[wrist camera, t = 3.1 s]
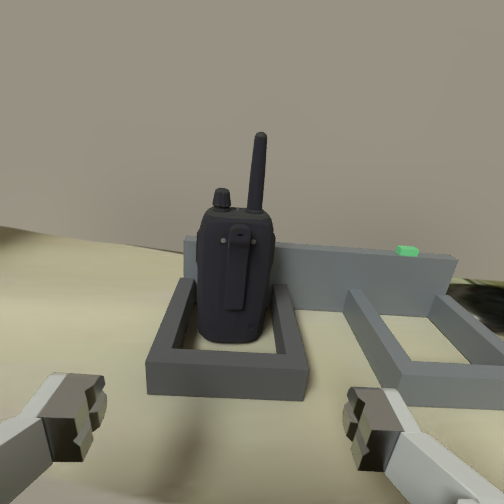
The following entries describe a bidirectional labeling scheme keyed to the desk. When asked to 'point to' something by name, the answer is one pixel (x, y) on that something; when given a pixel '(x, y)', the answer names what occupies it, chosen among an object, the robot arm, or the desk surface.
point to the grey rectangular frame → (227, 357)
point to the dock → (392, 303)
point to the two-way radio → (235, 261)
